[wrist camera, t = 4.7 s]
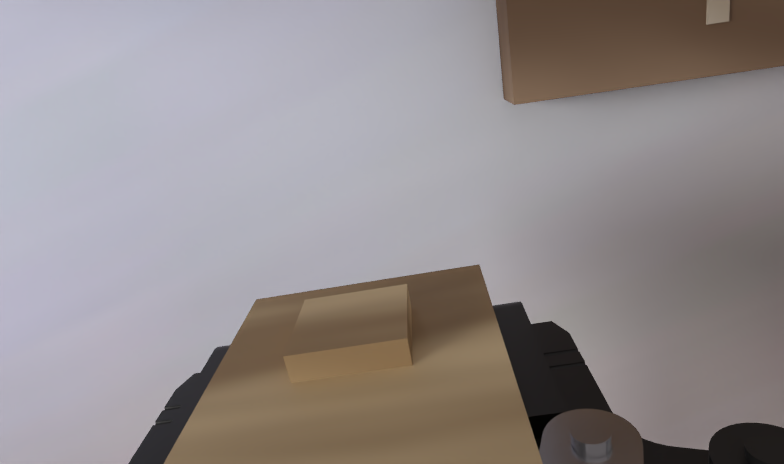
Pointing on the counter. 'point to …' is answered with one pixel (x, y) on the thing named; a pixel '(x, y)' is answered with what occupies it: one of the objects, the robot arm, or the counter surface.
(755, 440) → the robot arm
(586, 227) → the counter surface
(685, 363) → the counter surface
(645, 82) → the walnut board
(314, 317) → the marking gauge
